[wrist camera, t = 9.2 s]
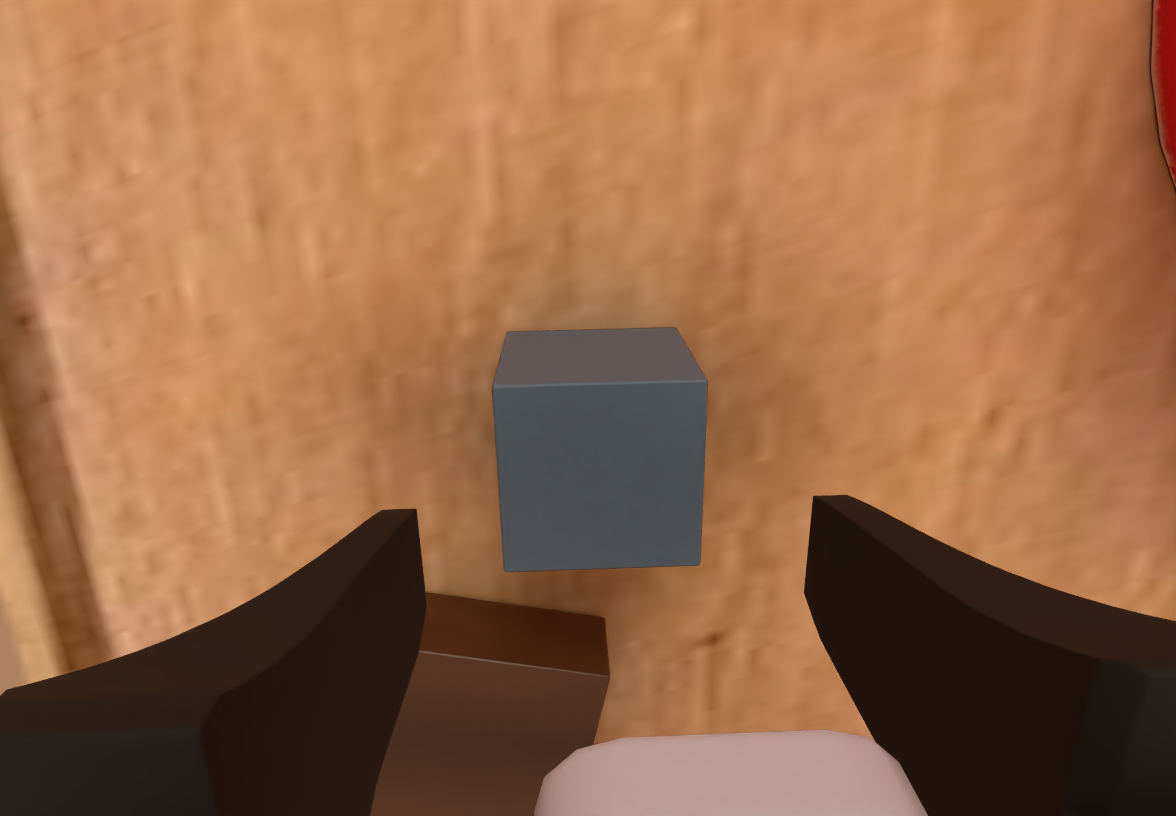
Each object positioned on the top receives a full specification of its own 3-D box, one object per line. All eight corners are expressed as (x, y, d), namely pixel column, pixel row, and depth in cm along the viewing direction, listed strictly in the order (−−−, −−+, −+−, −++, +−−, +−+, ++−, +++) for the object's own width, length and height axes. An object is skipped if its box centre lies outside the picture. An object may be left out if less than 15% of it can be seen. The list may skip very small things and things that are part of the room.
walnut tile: (562, 797, 25) (562, 870, 22) (341, 772, 24) (316, 844, 21) (605, 617, 22) (610, 676, 20) (361, 582, 21) (336, 640, 19)
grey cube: (672, 480, 21) (700, 566, 17) (514, 485, 21) (503, 573, 16) (677, 326, 19) (709, 379, 15) (505, 331, 19) (491, 385, 15)
